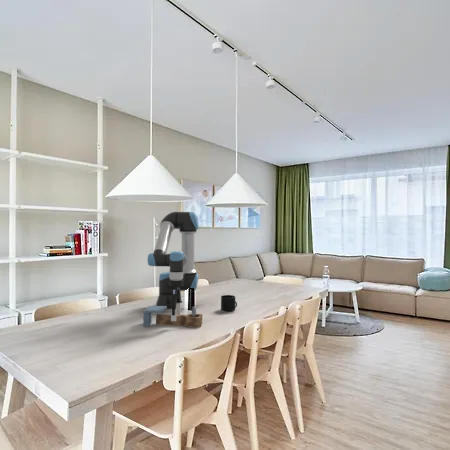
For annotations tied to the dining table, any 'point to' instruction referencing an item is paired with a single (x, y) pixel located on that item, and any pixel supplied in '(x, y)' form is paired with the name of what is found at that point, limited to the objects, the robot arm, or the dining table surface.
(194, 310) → the pintle
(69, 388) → the dining table surface
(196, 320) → the link
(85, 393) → the dining table surface
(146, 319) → the keeper
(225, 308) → the mug
